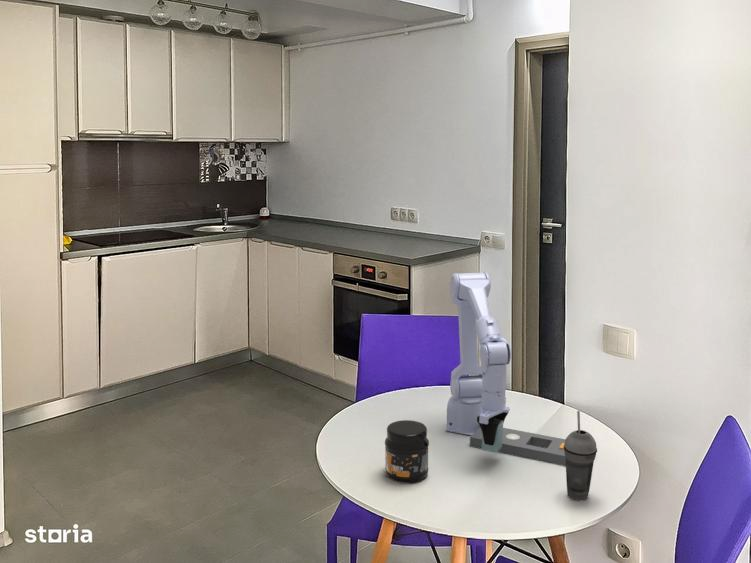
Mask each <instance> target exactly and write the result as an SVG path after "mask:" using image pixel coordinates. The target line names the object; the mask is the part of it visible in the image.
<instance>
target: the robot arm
mask: <svg viewBox="0 0 751 563" xmlns="http://www.w3.org/2000/svg"><path fill="white" fill-rule="evenodd" d="M491 282H492V280H491V277H490V275H489V273H488V272H486V271H483V272H470V273H469V272H468V273H465V272H463V273H456V272H454V273H452V275H451V276H450V283H449V286H450V287H449V288H450V289H449V290H450V292H449V293H450V300H451V303H453V304H455V305H456V307H457V314H458V337H459V359H460V363H459V364H458V365H457V366H456V367H455V368H454V369H453V370H452V371H451V373H450V382H449V383H450V385H449V387H450V394H451V396H450V397H449V399H448V401H447V404H446V405H447V406H446V428H445V431H446V432H449V433H457V434H460V435H461V434H462V435H466V436H470V437H471V436H472V435H473V434H474V432H475V431H476V430H477V429H478V428H479V427H481V430H482V434H483V438H484V442H485V444H487V445H493V444H494V441H495V436H496V431H497V428H498V425H499V423H500V422H501V420H503V424H504V422H505V421H506V420H505V419H506V418H507V416H508V414H509V412H510V407H509V406H506V405H507V404H506V403H507V397H506V387H507V384H506V383H507V365H509V364H510V363H511V359H512V358H511V357H512V356H511V355H512V354H511V353H512V352H511V346H510V344H509V341H508V340H506V338H505V337H502V336H503V335H502V333H501V329H500V327H499V324H498V321H497V319H496V318H494V317H493V316H492V314H491V309H490V306H489V300H488V298H489V295H490V292H491V287H492V283H491ZM478 342H479V346H480V347H479V351H478ZM478 353H479V356H478ZM479 360H480V364H479ZM496 419H497V420H496Z"/></svg>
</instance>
